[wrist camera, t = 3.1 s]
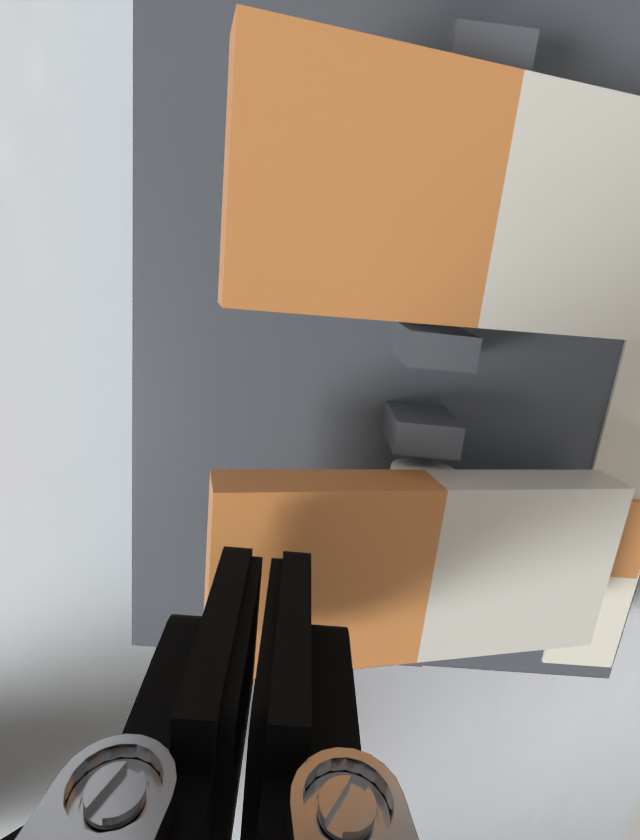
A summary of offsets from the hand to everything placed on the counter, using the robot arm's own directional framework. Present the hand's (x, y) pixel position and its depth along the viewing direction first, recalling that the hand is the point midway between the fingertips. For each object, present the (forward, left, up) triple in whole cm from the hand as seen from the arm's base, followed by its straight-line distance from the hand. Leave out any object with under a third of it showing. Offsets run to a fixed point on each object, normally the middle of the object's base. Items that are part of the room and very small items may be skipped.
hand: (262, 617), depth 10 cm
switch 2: (+2, -3, -3) cm, 5 cm away
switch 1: (+9, +1, -3) cm, 9 cm away
